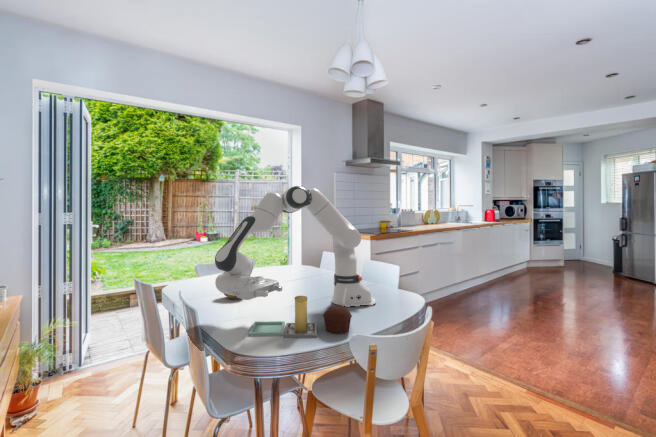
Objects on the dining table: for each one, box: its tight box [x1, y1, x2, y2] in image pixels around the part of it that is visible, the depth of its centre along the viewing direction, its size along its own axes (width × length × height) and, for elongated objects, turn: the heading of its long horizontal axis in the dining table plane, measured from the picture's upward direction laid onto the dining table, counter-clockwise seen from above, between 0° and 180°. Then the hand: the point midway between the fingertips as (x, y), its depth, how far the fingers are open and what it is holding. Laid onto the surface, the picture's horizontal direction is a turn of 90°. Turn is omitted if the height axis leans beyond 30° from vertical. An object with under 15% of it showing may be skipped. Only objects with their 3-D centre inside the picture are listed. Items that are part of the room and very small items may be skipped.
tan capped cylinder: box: [294, 295, 308, 333], centre depth 123 cm, size 5×5×13 cm
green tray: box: [248, 320, 286, 337], centre depth 125 cm, size 12×12×2 cm
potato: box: [223, 293, 239, 300], centre depth 171 cm, size 10×14×8 cm
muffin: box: [322, 304, 353, 335], centre depth 125 cm, size 12×11×10 cm
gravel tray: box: [283, 322, 318, 339], centre depth 124 cm, size 12×12×2 cm
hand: (274, 291), depth 129 cm, fingers open, 8 cm apart
